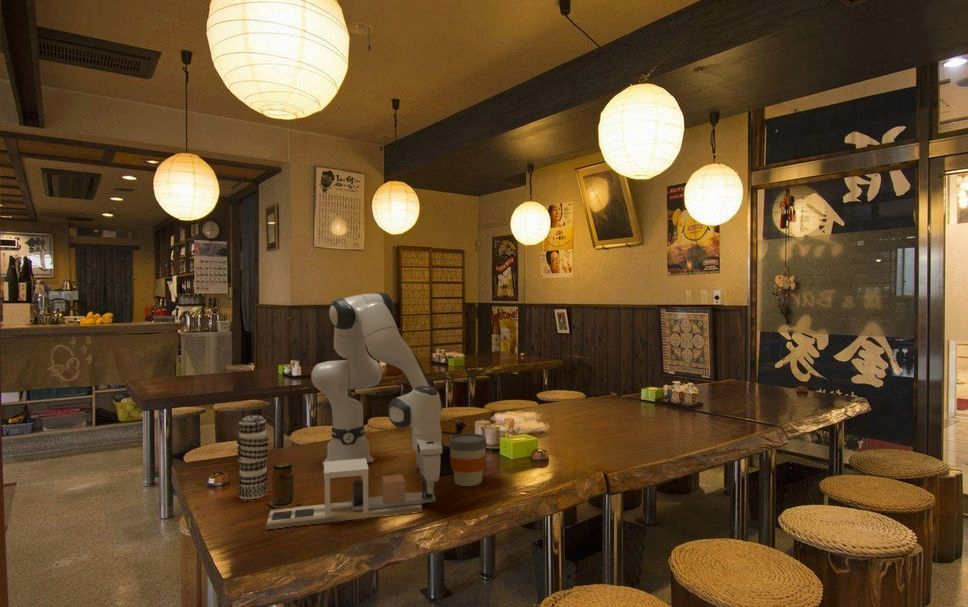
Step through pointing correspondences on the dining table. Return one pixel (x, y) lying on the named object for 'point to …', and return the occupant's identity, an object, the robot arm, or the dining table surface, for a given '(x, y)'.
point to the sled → (390, 494)
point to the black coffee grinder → (448, 450)
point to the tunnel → (345, 470)
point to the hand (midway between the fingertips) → (427, 487)
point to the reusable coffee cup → (468, 458)
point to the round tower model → (252, 457)
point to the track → (337, 513)
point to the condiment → (282, 484)
